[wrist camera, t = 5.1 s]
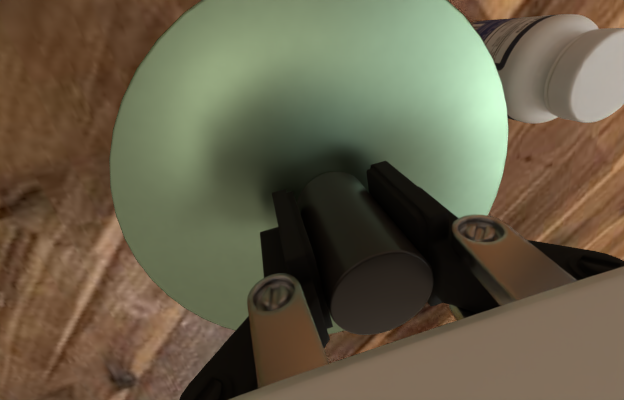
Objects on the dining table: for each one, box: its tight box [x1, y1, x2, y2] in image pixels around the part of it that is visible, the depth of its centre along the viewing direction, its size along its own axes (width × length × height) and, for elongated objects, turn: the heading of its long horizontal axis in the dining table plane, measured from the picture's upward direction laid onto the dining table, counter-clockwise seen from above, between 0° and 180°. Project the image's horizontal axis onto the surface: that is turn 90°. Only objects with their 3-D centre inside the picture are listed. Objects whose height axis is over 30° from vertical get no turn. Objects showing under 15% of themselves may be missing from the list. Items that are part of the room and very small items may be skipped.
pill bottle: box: [471, 14, 624, 123], centre depth 18 cm, size 5×5×10 cm
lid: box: [109, 0, 508, 335], centre depth 10 cm, size 15×15×6 cm
